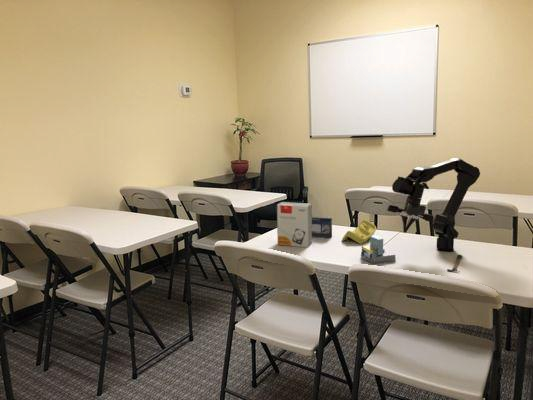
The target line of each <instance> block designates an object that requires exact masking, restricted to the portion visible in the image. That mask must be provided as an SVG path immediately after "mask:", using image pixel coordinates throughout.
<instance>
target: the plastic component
mask: <svg viewBox="0 0 533 400" xmlns="http://www.w3.org/2000/svg"><path fill="white" fill-rule="evenodd" d="M377 230H378V229H377V227H376V225H375V224H374V223H372V222H371V221H369V220H367V219H363V220H362V221H361V222H360V223H359V225H357V227H356V228H355V229H354V230H353V231H351V230H348V231H346V233H345V234H344V236H343V237H342V238H341V240H342V241H346V240H348V239H352V240H353V241H355V242H357V243H358V244H362V245H363V244H364V243H366V242H367V241H368V240H370V236H373V235H374V234H375V233H376V231H377Z"/></svg>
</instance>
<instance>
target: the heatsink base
mask: <svg viewBox="0 0 533 400" xmlns="http://www.w3.org/2000/svg"><path fill="white" fill-rule="evenodd" d="M366 251H367V252H369V253H371V254H372V257H371V259H370V258H368V257H366V256H364V252H366ZM360 258H361V259H362V260H364V261H365V262H367V263H369V264H371V265H377V264H383V263H384V262H385V263H389V262H396V259H397V258H396V254H394V253H391V254H390V253H388V252H386V251H385V248H383V256H377V251H375V250H373V249H371V248H370V246H369V247H368V246H367V245H362V246H361V252H360Z"/></svg>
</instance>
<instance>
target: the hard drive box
mask: <svg viewBox="0 0 533 400" xmlns="http://www.w3.org/2000/svg"><path fill="white" fill-rule="evenodd" d="M312 205H313V204H312V203H304V202H291V201H290V202H289V201H287V202H286V201H281V202H279V203H277V204H276V224H277V225H276V229H277V231H276V232H277V234H276V235H277V245H280V246H290V247H299V248H309V247H310V246H311V245H312V244H313V241H312V239H313V237H312V217H313V216H312V214H313V213H312V212H313V211H312Z"/></svg>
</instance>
